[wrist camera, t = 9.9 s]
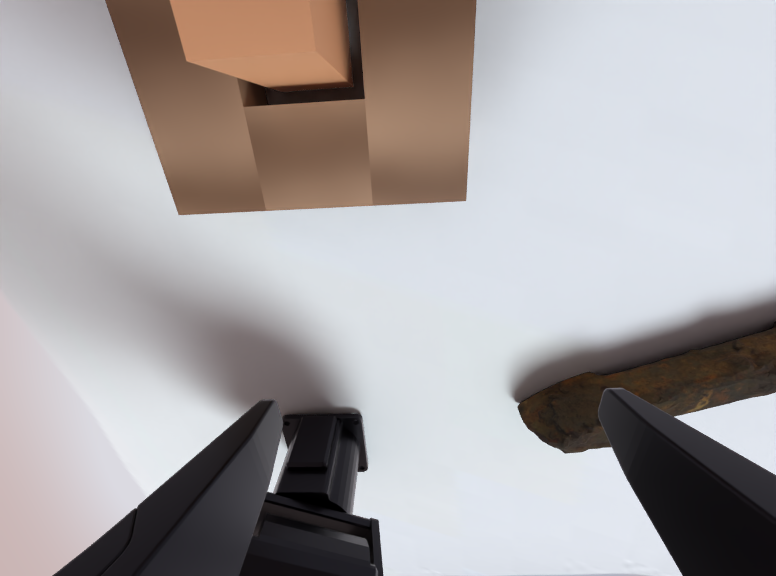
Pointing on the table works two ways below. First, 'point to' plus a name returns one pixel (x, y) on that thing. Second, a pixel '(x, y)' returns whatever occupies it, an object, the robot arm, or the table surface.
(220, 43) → the peg
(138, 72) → the socket block
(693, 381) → the brown long rough piece
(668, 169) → the table surface
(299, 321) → the table surface
